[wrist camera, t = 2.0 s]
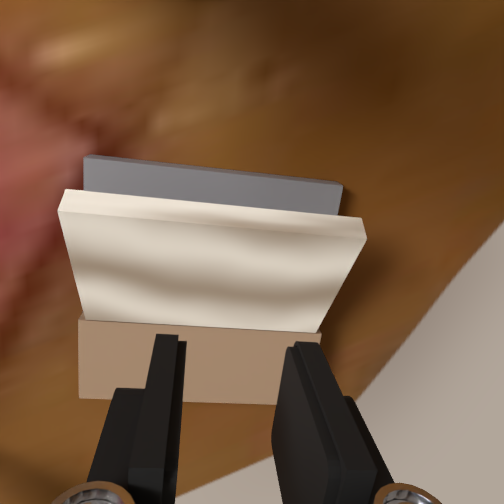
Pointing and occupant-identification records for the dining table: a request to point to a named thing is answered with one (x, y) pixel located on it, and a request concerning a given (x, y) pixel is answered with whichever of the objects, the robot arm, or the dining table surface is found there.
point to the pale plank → (205, 261)
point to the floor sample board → (210, 185)
